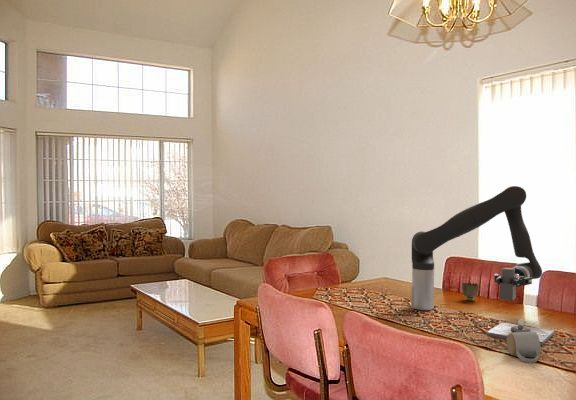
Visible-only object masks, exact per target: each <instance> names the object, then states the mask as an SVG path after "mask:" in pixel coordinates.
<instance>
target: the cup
mask: <svg viewBox="0 0 576 400" xmlns="http://www.w3.org/2000/svg"><path fill="white" fill-rule="evenodd" d="M461 288H462V289H461V290H462V294H463V296H464V297H465V299H466V301H468V302H472V301H473V302H474V300H475V297H476V296H478V292H479V284H478V283H477V282H475V283H474V282H464V281H463V282H461Z"/></svg>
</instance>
